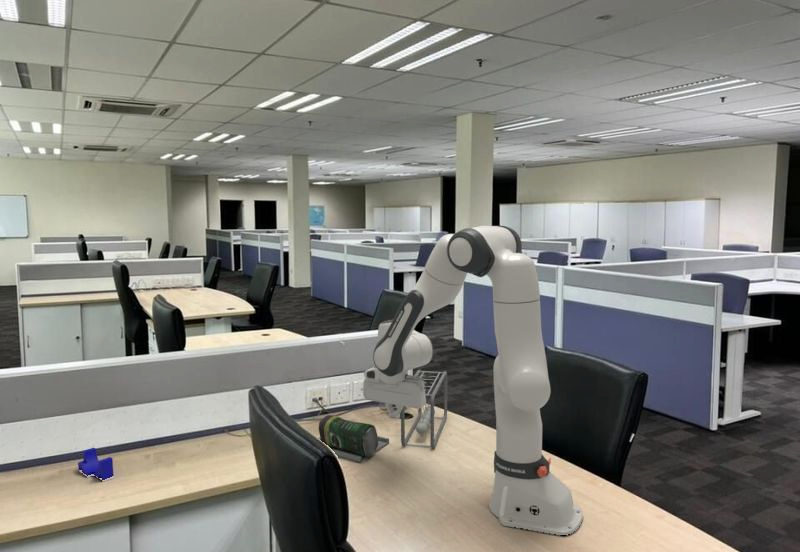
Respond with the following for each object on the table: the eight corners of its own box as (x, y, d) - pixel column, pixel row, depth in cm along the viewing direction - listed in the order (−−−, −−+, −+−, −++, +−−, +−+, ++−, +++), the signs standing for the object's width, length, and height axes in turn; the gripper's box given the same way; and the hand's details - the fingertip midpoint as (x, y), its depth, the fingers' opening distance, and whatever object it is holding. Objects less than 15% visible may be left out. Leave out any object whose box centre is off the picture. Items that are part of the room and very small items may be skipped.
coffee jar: (376, 421, 173) (328, 409, 183) (362, 436, 167) (312, 423, 177) (381, 447, 177) (333, 433, 186) (367, 463, 170) (318, 448, 180)
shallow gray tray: (389, 443, 183) (389, 438, 183) (360, 463, 169) (359, 457, 169) (338, 431, 193) (338, 426, 193) (307, 449, 179) (307, 443, 179)
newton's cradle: (418, 415, 209) (418, 368, 207) (447, 417, 206) (447, 369, 204) (400, 448, 180) (400, 393, 178) (433, 451, 177) (433, 396, 175)
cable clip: (78, 472, 165) (77, 452, 164) (94, 467, 169) (93, 447, 168) (97, 484, 158) (95, 463, 157) (113, 478, 161) (112, 458, 160)
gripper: (429, 374, 167) (430, 419, 169) (371, 366, 178) (372, 409, 179) (418, 380, 162) (419, 427, 164) (359, 371, 173) (361, 415, 174)
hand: (394, 417), depth 172 cm, fingers closed
